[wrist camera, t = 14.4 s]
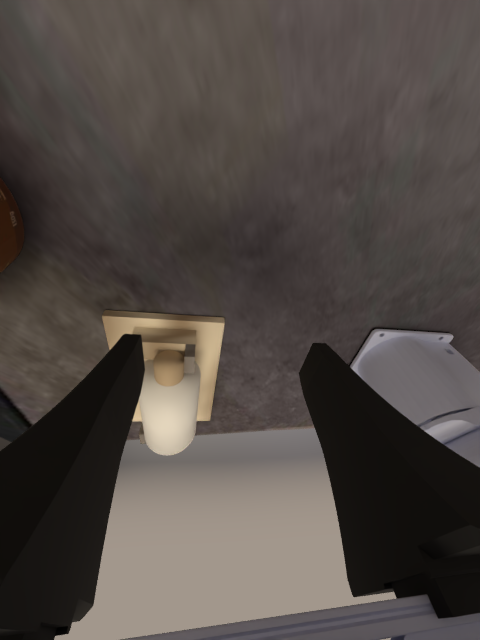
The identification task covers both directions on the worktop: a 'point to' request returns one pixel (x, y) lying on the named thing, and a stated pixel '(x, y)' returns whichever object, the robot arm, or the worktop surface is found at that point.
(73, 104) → the worktop surface
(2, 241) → the food container
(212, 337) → the cradle
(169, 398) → the white cylinder with cap
